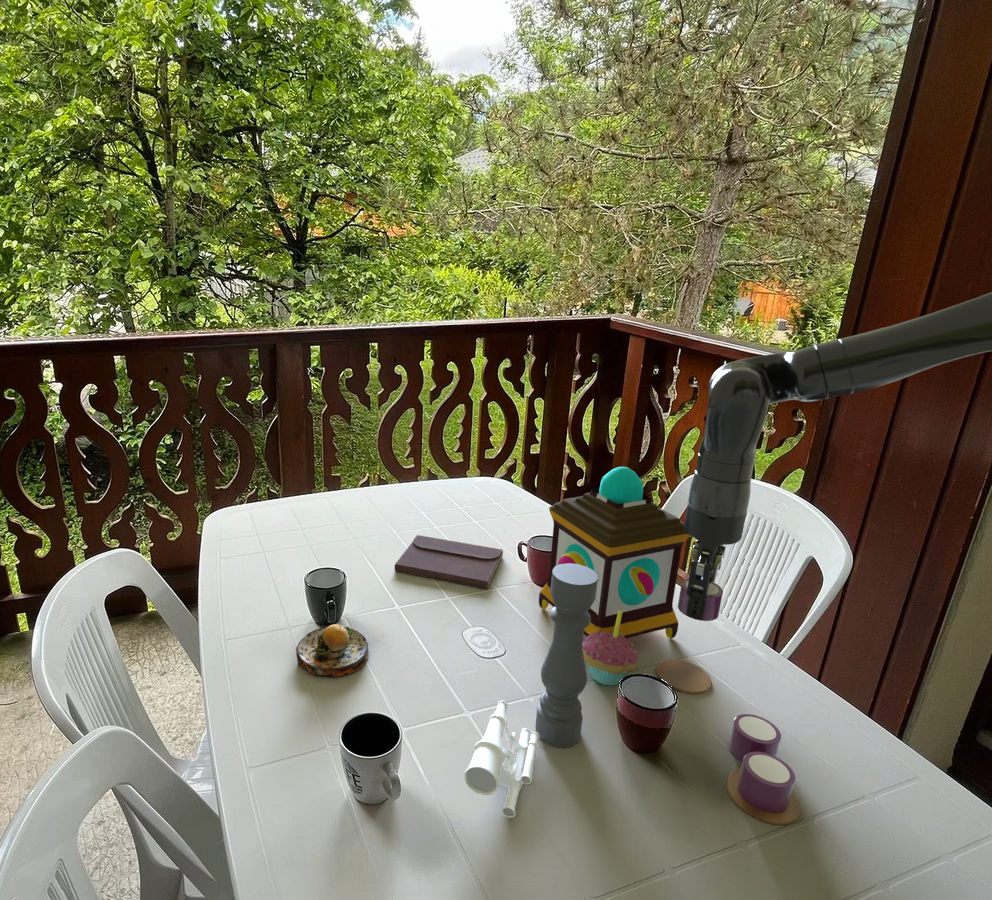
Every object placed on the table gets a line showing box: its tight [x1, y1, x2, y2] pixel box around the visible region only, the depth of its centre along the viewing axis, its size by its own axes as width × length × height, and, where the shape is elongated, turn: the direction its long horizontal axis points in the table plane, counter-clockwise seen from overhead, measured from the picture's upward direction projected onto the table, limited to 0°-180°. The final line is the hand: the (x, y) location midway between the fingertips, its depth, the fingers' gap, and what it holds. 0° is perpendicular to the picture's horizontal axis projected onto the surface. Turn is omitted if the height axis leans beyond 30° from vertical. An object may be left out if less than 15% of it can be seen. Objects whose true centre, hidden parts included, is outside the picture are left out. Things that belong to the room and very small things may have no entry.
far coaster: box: [655, 658, 712, 695], centre depth 101 cm, size 8×8×1 cm
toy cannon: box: [463, 700, 540, 819], centre depth 82 cm, size 8×14×5 cm
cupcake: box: [582, 606, 639, 686], centre depth 99 cm, size 9×8×12 cm
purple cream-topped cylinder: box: [677, 577, 724, 622], centre depth 95 cm, size 6×6×4 cm
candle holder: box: [534, 563, 598, 749], centre depth 86 cm, size 6×6×25 cm
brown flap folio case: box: [394, 534, 504, 590], centre depth 136 cm, size 15×20×2 cm
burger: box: [295, 623, 370, 678], centre depth 105 cm, size 12×12×8 cm
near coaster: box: [726, 769, 801, 826], centre depth 79 cm, size 8×8×1 cm
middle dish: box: [728, 713, 782, 763], centre depth 85 cm, size 6×6×4 cm
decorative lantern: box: [538, 466, 691, 639], centre depth 111 cm, size 20×20×30 cm
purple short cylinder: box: [738, 752, 796, 813], centre depth 78 cm, size 6×6×4 cm
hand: (698, 607), depth 95 cm, fingers closed on purple cream-topped cylinder, 5 cm apart
